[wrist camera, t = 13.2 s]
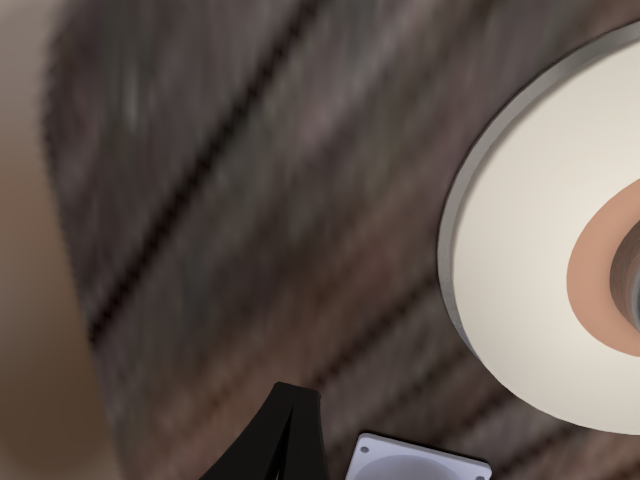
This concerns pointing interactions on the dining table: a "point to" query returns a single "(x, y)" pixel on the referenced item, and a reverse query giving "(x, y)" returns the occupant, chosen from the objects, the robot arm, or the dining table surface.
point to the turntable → (557, 247)
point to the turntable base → (490, 136)
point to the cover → (627, 277)
